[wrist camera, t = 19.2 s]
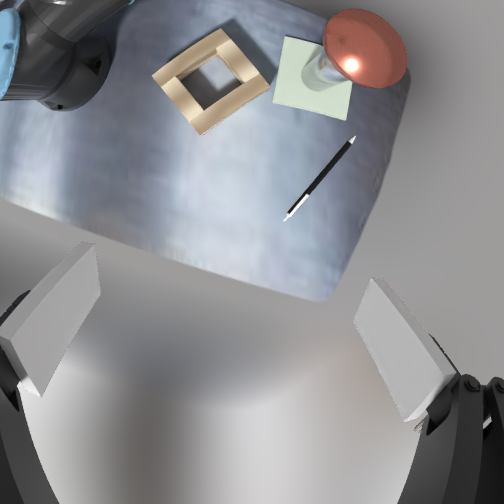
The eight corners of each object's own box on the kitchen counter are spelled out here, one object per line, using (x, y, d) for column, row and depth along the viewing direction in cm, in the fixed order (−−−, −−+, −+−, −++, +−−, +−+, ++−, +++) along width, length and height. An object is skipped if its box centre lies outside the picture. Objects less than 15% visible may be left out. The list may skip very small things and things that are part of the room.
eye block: (158, 80, 34) (151, 75, 30) (221, 36, 32) (220, 28, 28) (203, 134, 38) (199, 135, 35) (267, 91, 36) (270, 86, 32)
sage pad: (272, 102, 37) (272, 102, 36) (284, 37, 32) (284, 36, 31) (344, 120, 38) (345, 120, 38) (354, 57, 33) (355, 56, 33)
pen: (281, 218, 45) (282, 220, 44) (352, 133, 40) (355, 133, 39) (285, 221, 45) (286, 223, 44) (356, 137, 40) (359, 137, 39)
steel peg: (276, 67, 34) (307, 23, 17) (322, 44, 32) (373, 1, 16) (310, 113, 37) (362, 101, 20) (353, 88, 35) (420, 70, 19)
